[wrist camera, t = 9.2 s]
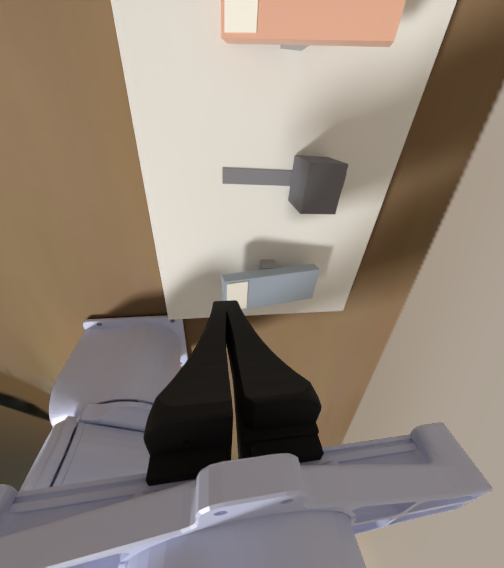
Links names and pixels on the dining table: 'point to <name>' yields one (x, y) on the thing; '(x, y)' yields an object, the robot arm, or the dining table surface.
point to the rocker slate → (270, 286)
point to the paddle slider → (316, 184)
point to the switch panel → (264, 144)
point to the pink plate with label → (311, 22)
